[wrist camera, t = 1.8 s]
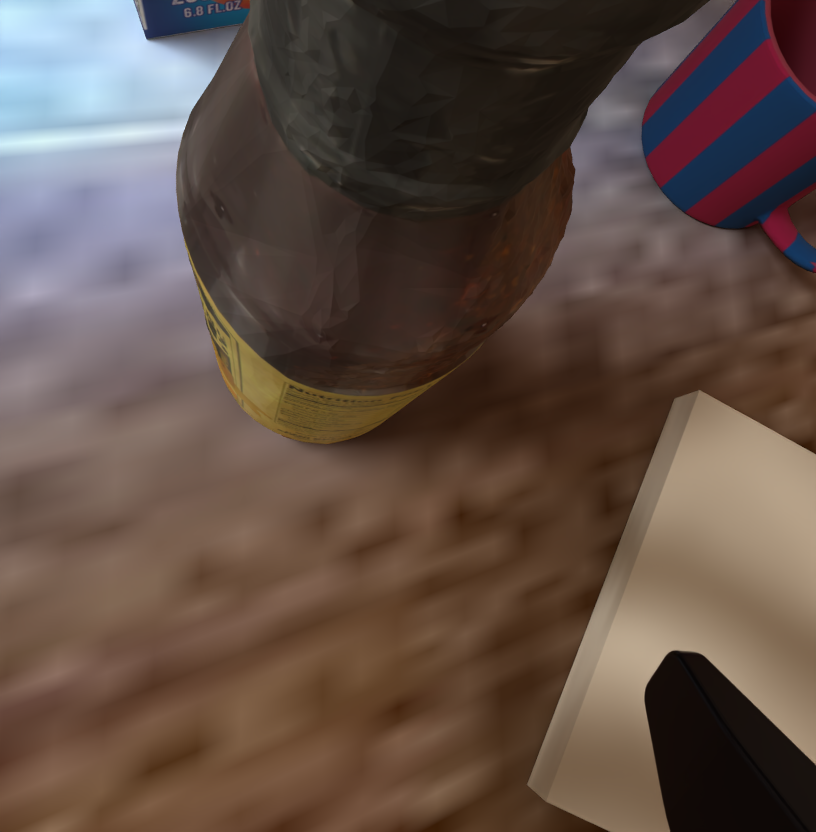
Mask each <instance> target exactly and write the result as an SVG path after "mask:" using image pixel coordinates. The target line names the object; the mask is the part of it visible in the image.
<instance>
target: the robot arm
mask: <svg viewBox="0 0 816 832" xmlns="http://www.w3.org/2000/svg"><path fill="white" fill-rule="evenodd" d="M644 702H645V709H646V714H647V720H648V725H649V730H650V736H651V741H652V746H653V752H654V757H655V763H656V768H657V773H658V779H659V784H660V790H661V795H662V800H663V804H664V809H665V814H666V818H667V822H668V825H669V829H670V832H816V764H815V763H813V762H812V761H811V760H810V759H809V758H808V757H807V756H806V755H805V754H804V753H803V752H802V751H801V750H800V749H799V748H798V747H797V746H796V745H795V744H794V743H793V742H792V741H791V740H790V739H789V738H788V737H787V736H786V735H785V734H784V733H783V732H782V731H781V730H780V729H779V728H778V727H777V726H776V725H775V724H774V723H773V722H772V721H771V720H770V719H769V718H768V717H766V716H765V715H764V714H763V713H762V712H761V711H760V710H759V709H758V708H757V707H756V706H755V705H754V704H753V703H752V702H751V701H750V700H749V699H748V698H747V697H746V696H745V695H744V694H743V693H742V692H741V691H740V690H739V689H738V688H737V687H736V686H735V685H734V684H733V683H732V682H731V681H730V680H729V679H728V678H727V677H726V676H725V675H724V674H723V673H722V672H720V671H719V670H718V669H717V668H716V667H715V666H714V665H713V664H712V663H711V662H710V661H709V660H708V659H707V658H706V657H705V656H704V655H702V654H700V653H698V652H692V651H680V650H673V651H671V652H669V653H668V654H667V655H666V656H665V657H664V659H663V660H662V662H661V663H660V665H659V666H658V668H657V669H656V671H655V672H654V674H653V675H652V677H651V678H650V680H649V681H648V683H647V685H646V688H645V694H644Z"/></svg>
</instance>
